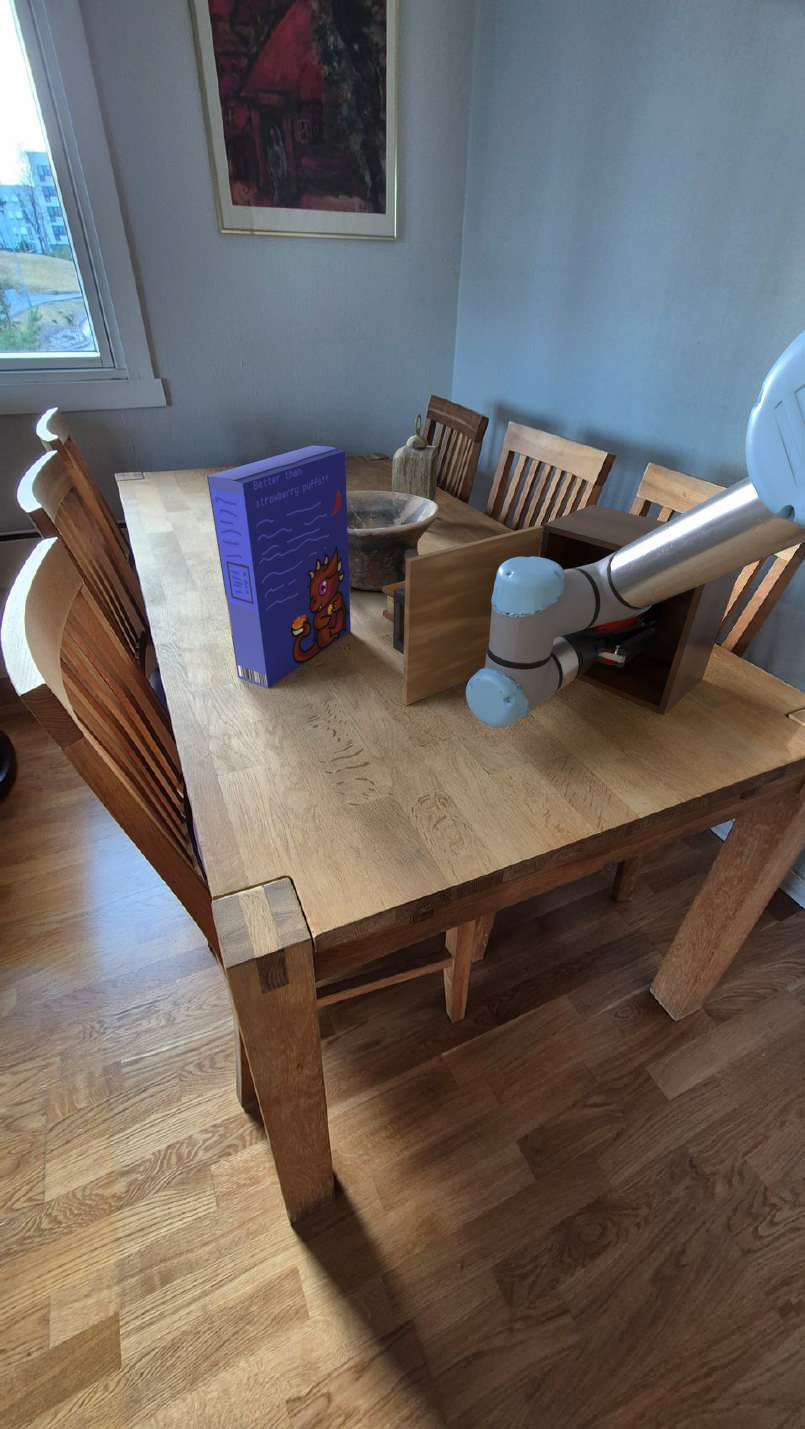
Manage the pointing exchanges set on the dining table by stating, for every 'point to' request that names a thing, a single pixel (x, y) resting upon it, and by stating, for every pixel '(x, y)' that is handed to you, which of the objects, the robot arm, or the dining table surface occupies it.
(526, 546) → the cabinet door
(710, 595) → the cabinet
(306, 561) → the cereal box
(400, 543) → the bowl
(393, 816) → the dining table surface
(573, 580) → the robot arm
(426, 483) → the grey bell
